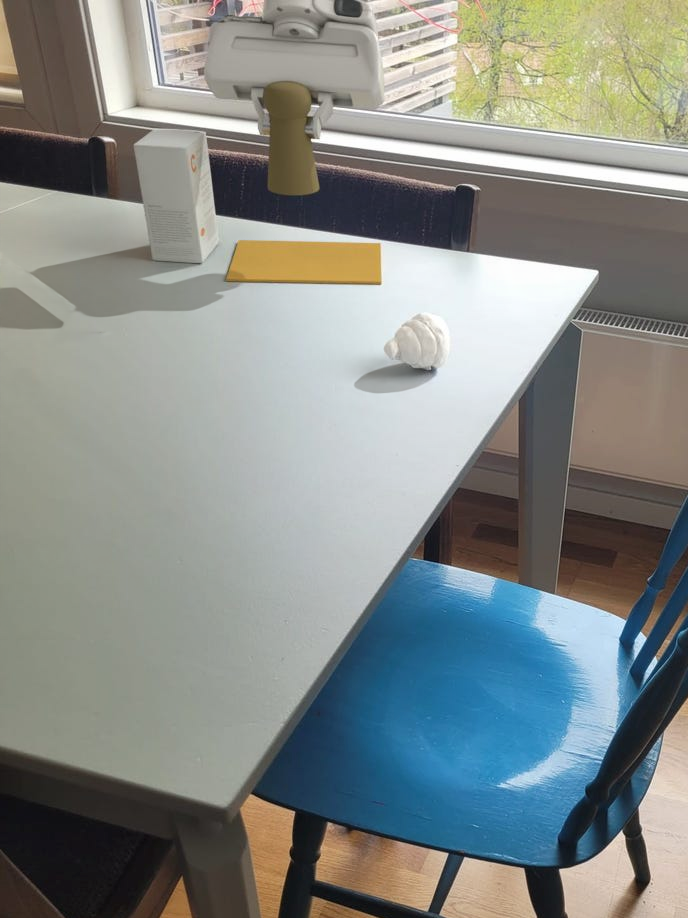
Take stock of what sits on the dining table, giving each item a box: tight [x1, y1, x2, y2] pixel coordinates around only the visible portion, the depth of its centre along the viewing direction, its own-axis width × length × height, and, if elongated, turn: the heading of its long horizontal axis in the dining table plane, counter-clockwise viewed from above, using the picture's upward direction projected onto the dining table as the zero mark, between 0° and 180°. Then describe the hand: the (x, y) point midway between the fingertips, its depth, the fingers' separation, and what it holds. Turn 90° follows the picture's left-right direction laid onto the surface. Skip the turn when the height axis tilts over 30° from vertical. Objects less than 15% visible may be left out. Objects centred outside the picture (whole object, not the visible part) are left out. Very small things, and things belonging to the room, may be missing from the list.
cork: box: [264, 81, 320, 196], centre depth 113 cm, size 6×6×11 cm
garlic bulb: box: [383, 311, 451, 371], centre depth 98 cm, size 6×6×5 cm
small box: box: [132, 127, 220, 264], centre depth 119 cm, size 8×6×13 cm
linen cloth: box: [225, 239, 382, 285], centre depth 122 cm, size 18×14×1 cm
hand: (289, 134), depth 112 cm, fingers closed on cork, 4 cm apart
